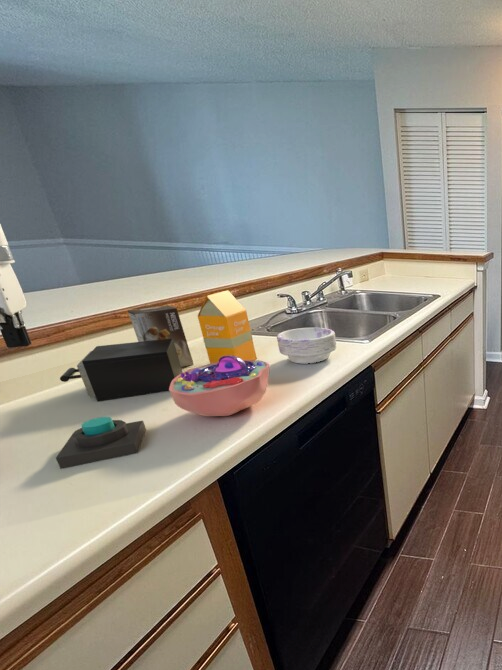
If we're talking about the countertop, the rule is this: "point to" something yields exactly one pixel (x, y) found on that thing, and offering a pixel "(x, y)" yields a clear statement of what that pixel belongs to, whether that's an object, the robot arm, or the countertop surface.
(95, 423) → the button
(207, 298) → the orange juice
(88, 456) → the control block
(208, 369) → the cell model
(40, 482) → the countertop surface
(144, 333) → the coffee box
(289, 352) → the paper bowls
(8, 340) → the robot arm
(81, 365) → the drawer
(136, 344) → the cabinet
